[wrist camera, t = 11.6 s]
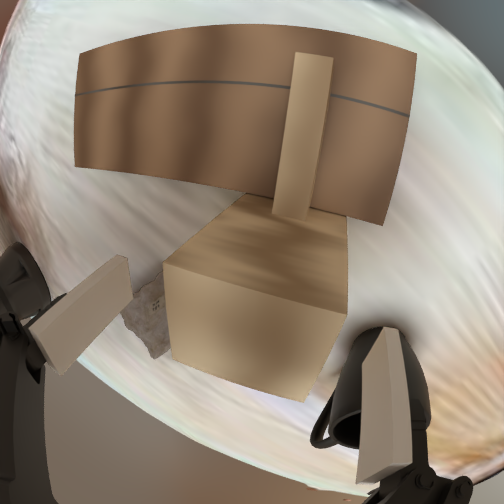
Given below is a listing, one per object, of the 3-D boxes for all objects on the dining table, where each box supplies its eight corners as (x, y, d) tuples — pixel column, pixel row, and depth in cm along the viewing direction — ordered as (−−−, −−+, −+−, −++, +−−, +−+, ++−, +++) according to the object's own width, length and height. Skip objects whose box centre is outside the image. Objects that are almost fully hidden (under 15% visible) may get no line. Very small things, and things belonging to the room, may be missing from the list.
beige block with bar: (245, 255, 23) (172, 359, 13) (270, 64, 16) (179, 3, 5) (326, 276, 22) (303, 402, 12) (370, 81, 14) (416, 22, 4)
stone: (140, 247, 27) (103, 275, 22) (205, 287, 26) (175, 324, 22) (130, 306, 32) (103, 334, 27) (183, 340, 32) (159, 374, 27)
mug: (297, 362, 27) (275, 438, 19) (386, 299, 21) (397, 390, 13) (347, 394, 28) (337, 464, 20) (432, 344, 21) (447, 425, 13)
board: (88, 162, 24) (74, 166, 22) (93, 54, 18) (79, 53, 16) (378, 216, 18) (382, 226, 16) (409, 59, 12) (417, 53, 11)
